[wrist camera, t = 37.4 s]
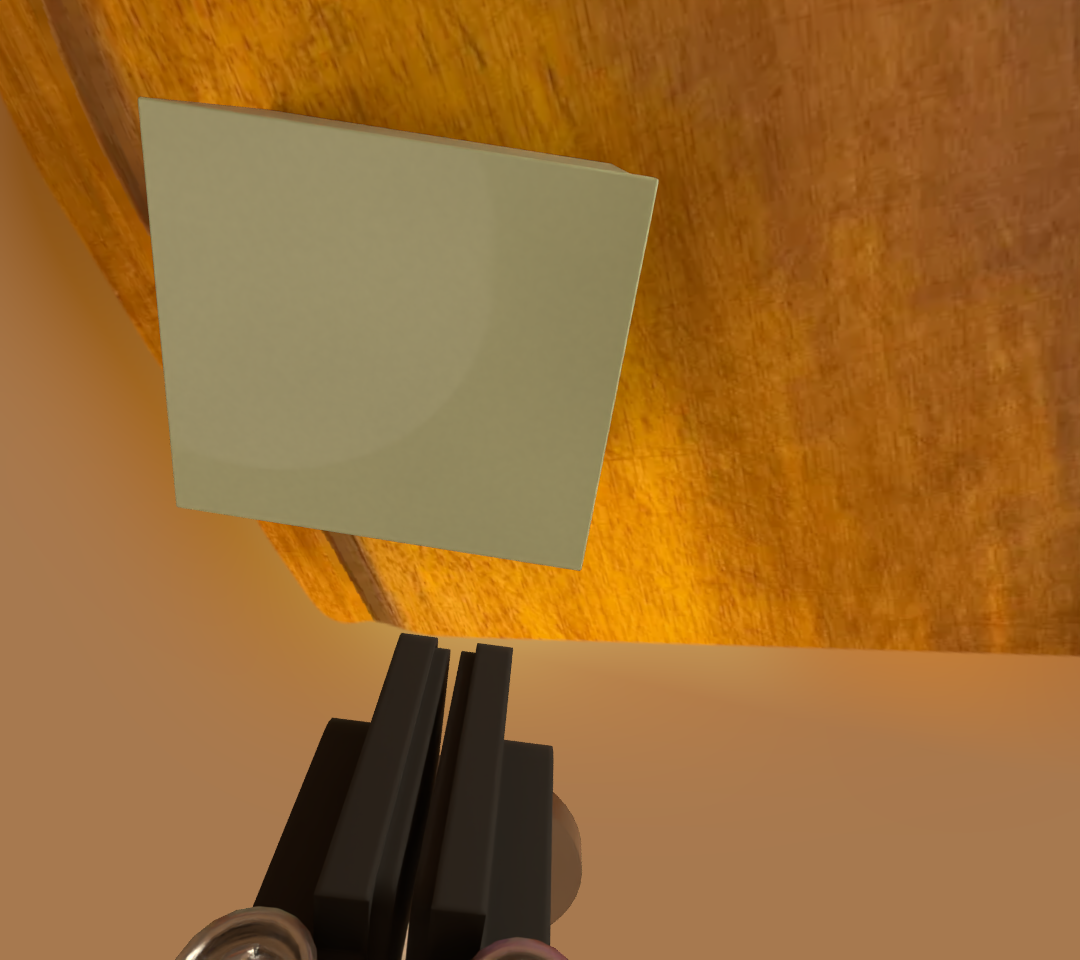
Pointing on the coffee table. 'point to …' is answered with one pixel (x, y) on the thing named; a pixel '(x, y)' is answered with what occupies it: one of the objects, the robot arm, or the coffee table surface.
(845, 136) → the coffee table surface
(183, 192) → the lid
